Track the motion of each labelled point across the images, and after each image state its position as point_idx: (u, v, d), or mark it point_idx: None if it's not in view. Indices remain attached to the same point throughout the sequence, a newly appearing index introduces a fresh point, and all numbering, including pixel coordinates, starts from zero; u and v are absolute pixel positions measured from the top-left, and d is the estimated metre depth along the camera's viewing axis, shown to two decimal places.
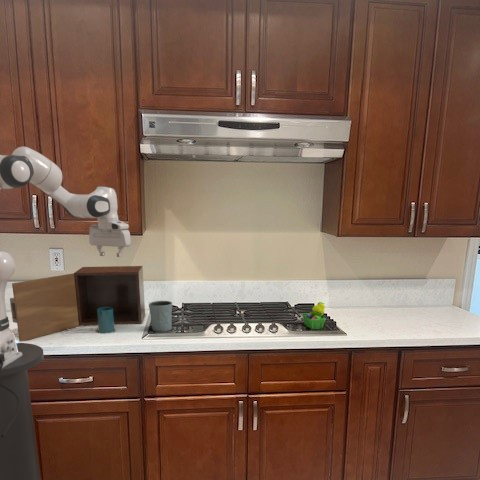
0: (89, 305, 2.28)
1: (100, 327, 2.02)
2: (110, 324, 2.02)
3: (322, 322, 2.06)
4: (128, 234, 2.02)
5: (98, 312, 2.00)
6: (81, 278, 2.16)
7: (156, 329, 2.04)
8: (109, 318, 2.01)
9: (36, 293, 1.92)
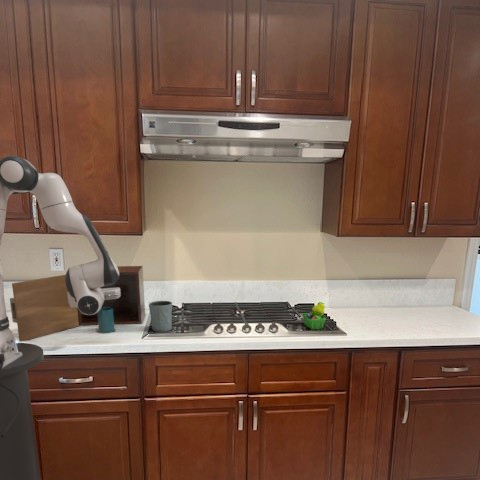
0: None
1: (100, 327, 2.02)
2: (110, 324, 2.02)
3: (322, 322, 2.06)
4: (68, 300, 1.78)
5: (98, 312, 2.00)
6: None
7: (156, 329, 2.04)
8: (109, 318, 2.01)
9: (36, 293, 1.92)
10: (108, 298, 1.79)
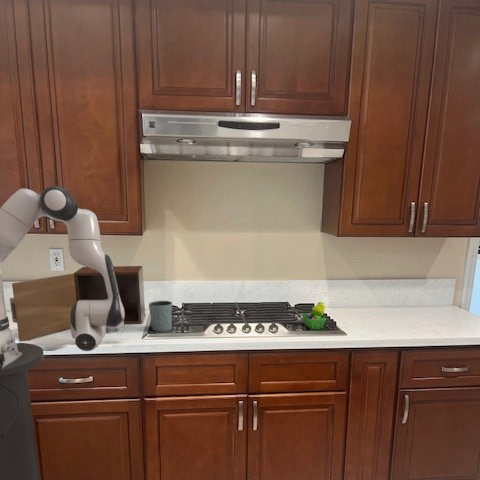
0: None
1: None
2: None
3: (322, 322, 2.06)
4: None
5: None
6: (81, 278, 2.16)
7: (156, 329, 2.04)
8: None
9: (36, 293, 1.92)
10: (110, 331, 1.82)
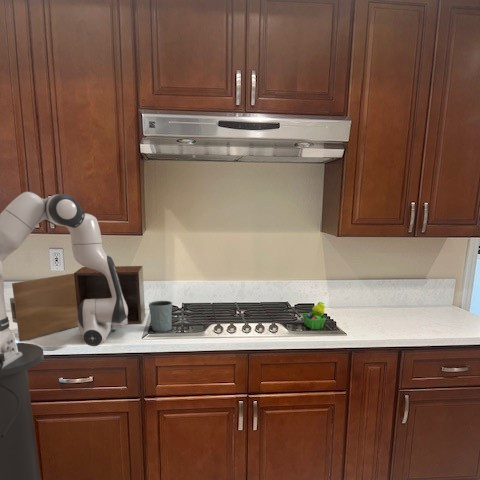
0: None
1: None
2: None
3: (322, 322, 2.06)
4: None
5: None
6: (81, 278, 2.16)
7: (156, 329, 2.04)
8: None
9: (36, 293, 1.92)
10: (114, 328, 1.94)
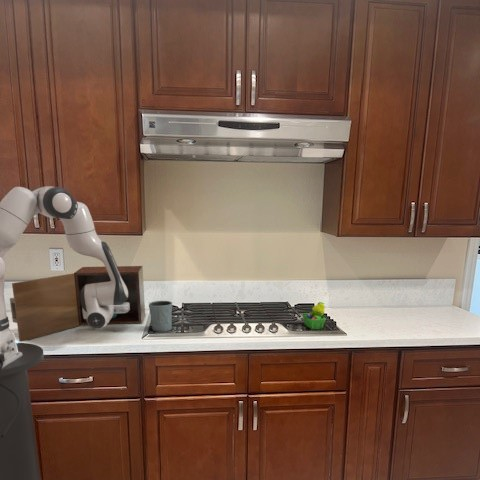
0: None
1: None
2: None
3: (322, 322, 2.06)
4: None
5: None
6: (81, 278, 2.16)
7: (156, 329, 2.04)
8: None
9: (36, 293, 1.92)
10: (117, 312, 2.01)
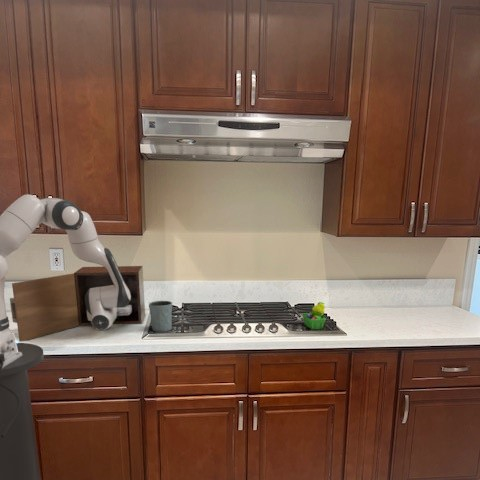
0: None
1: None
2: None
3: (322, 322, 2.06)
4: None
5: None
6: (81, 278, 2.16)
7: (156, 329, 2.04)
8: None
9: (36, 293, 1.92)
10: (120, 314, 2.10)
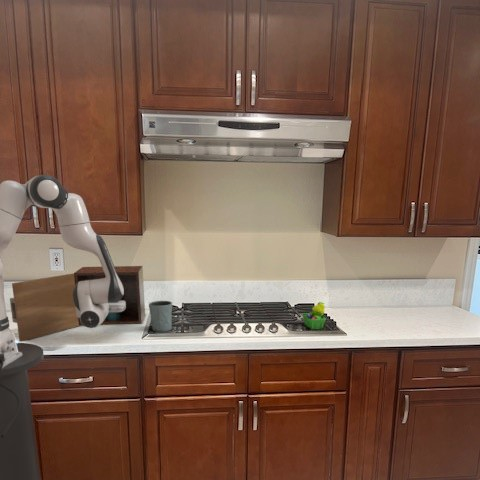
0: None
1: (107, 315, 2.18)
2: (116, 312, 2.18)
3: (322, 322, 2.06)
4: None
5: None
6: (81, 278, 2.16)
7: (156, 329, 2.04)
8: None
9: (36, 293, 1.92)
10: (112, 311, 1.91)
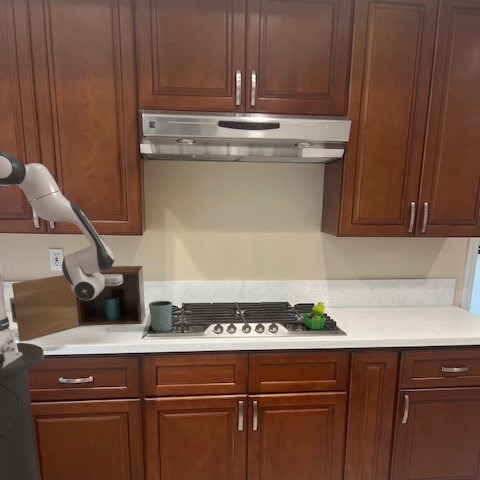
0: (89, 305, 2.28)
1: (107, 315, 2.18)
2: (116, 312, 2.18)
3: (322, 322, 2.06)
4: None
5: (105, 301, 2.16)
6: None
7: (156, 329, 2.04)
8: (116, 307, 2.17)
9: (36, 293, 1.92)
10: (109, 284, 1.83)
